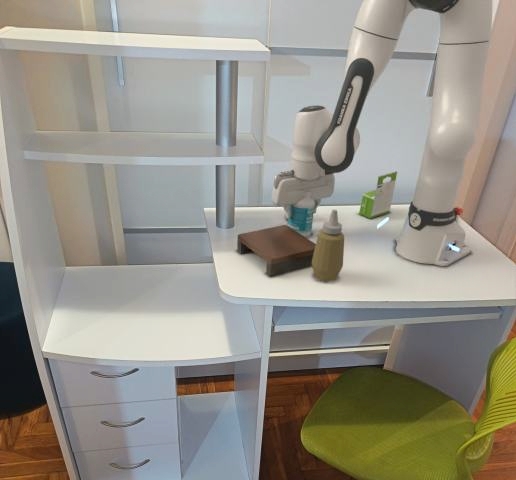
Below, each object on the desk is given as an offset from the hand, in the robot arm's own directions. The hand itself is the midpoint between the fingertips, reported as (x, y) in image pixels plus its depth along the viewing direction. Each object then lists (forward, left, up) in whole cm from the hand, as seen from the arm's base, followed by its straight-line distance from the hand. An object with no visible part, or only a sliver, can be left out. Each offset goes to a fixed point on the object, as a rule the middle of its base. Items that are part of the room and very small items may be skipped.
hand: (300, 215), depth 151 cm
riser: (+15, +11, -6) cm, 19 cm away
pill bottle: (0, 0, -6) cm, 6 cm away
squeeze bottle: (+10, +26, -6) cm, 28 cm away
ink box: (-33, -2, -6) cm, 33 cm away
